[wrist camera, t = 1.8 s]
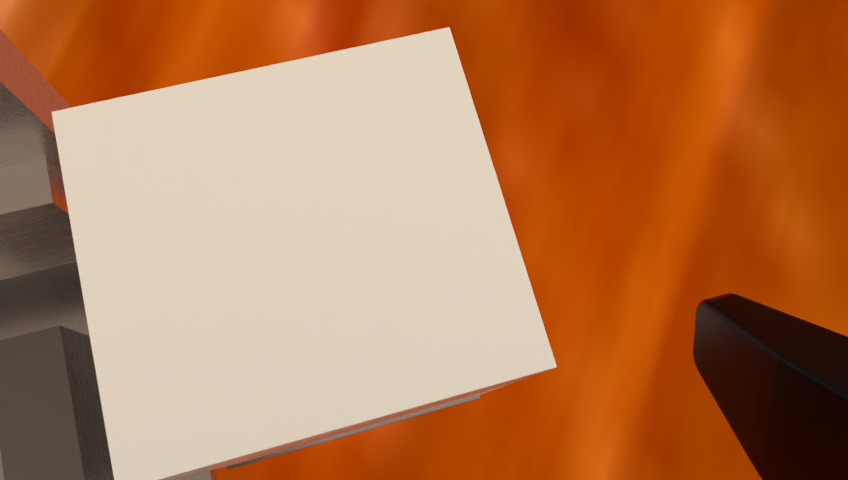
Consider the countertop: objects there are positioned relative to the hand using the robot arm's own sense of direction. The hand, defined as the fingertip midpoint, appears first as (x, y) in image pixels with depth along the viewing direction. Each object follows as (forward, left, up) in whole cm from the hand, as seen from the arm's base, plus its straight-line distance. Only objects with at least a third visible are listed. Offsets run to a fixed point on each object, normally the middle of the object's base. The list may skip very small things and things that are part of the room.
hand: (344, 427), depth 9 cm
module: (+2, 0, -10) cm, 10 cm away
